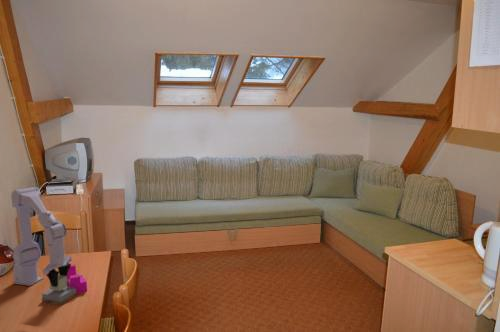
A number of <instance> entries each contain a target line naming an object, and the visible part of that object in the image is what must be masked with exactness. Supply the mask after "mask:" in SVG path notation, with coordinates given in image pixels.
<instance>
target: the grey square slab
mask: <svg viewBox="0 0 500 332" xmlns="http://www.w3.org/2000/svg"><path fill="white" fill-rule="evenodd" d="M76 295H77V293H74V294H73V295H71V296H69V297H68V298H66V299H64V300H63V301H61V302H57V301H52V300H48V299H43V298H41V302H42V303H45V304H46V303H47V304H51V305H56V306H61V305H63V304H64V303H66V302H67V301H70V300H71V299H72V298H74V297H75V296H76Z"/></svg>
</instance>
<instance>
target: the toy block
mask: <svg viewBox="0 0 500 332" xmlns="http://www.w3.org/2000/svg"><path fill="white" fill-rule="evenodd" d="M67 286H69V287H73V288H76V294H79V293H83V292H88V285H87V279H86V278H85V277H84V275H83V274H82V275H81V274H78V273H77V269H76V264H71V266H70V268H69V270H68V273H67Z"/></svg>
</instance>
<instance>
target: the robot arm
mask: <svg viewBox="0 0 500 332" xmlns="http://www.w3.org/2000/svg"><path fill="white" fill-rule="evenodd" d="M10 196H11V206H12V207H13V208H15V210H16V217H17V218H16V219H17V226H18V236H19V243H18V244H17V245H16V246H15V247H13V261H14V263H15V264H14V266H13V279H14V280H13V282H12V283H13V284H16V285H17V284H18V285H22V286H23V285H24V286H29V287H30V286H32V285H34V284H35V283H37V282H40V281H41V280H42V279H43V277H41V276H39V270H38V262H39V260H40V259H41V256H42V251H41V248H40V245H39V243H38V242H36V241H34V240H33V239H34V238H33V231H32V222H31V221H32V220H31V215H30V214H31V213H30V207H31V209H32V210H33V212H35V213H36V214H37V221H38V222H39V224H40V225H41V226H42V228H43V230H44V235H45V238H46V243H47V244H48V257H49V263H48V265H46V266H45V267H44V268H42V275H46V276H47V278H48V280H49V283H50V282H51V285H52V286H53V287H57V285H58V275H63V276H66V277H67V273H68V270H69V268H70V266H71V265H72V264H71V263H69V262H72V260H73V258H72V256H69V255H67V256H66V253H65V239H64V237H65V236H67V235H66V234H67V228H66V225H65V224H64V223H63V222H61V221H60V220H59V221H58V219H57V218H56V217H55V215H54V214H53V213H52V211H50V210H47V208H46V207H45V205H44V204H43V202H42V200H41V197H42V195H41V191H40V188H39V187H38V186H33V187H32V186H31V187H27V188H20V189H14V190H13V191H12V192H11V194H10ZM56 269H58V270H56Z"/></svg>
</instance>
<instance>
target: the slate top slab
mask: <svg viewBox="0 0 500 332" xmlns="http://www.w3.org/2000/svg"><path fill="white" fill-rule="evenodd" d="M74 293H76V288H73V287H69V285H67V286H66V287H65V288H63V289H62V290H60V291H57V290H51V289H50V288H49V289H48V290H46V291H45V292H42V293H41V296H42V298H43V299H48V300H52V301H57V302H61V301H63V300H64V299H66V298H68V297H69V296H71V295H73V294H74ZM76 294H77V293H76ZM42 298H41V299H42Z"/></svg>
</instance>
